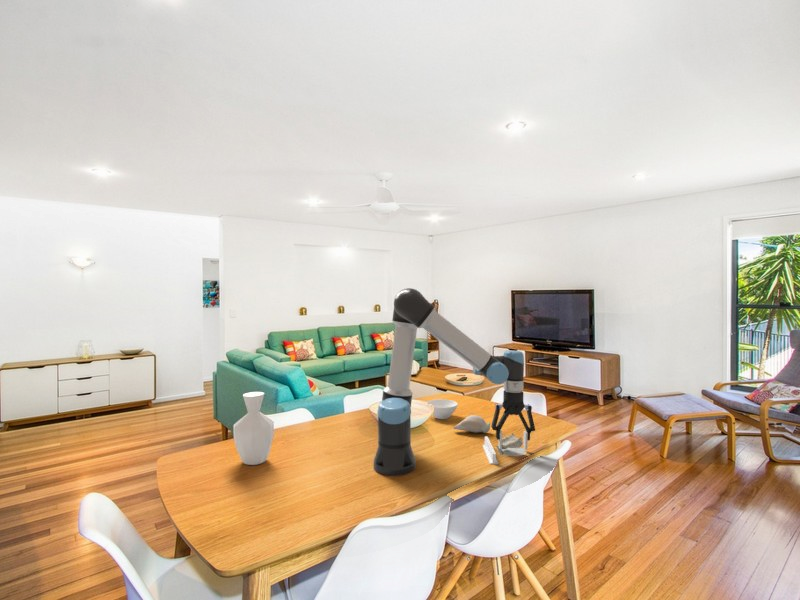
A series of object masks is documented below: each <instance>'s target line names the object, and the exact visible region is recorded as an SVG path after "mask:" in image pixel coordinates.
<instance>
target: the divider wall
mask: <svg viewBox="0 0 800 600" xmlns="http://www.w3.org/2000/svg"><path fill="white" fill-rule="evenodd" d="M482 448H483V450H484V453H485V455H486V458H487V460H488V463H489V465H499V461H498V458H497V453H496V450H495V449H494V447H493V445H492V443H491V440H490V439H489V437H488V436H484V444H482Z"/></svg>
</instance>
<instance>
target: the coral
mask: <svg viewBox="0 0 800 600" xmlns="http://www.w3.org/2000/svg"><path fill="white" fill-rule="evenodd" d="M523 445H524V438H523V436H521V437H519V438H518V437H516V435H515V433H513V432H512V433H510V434H509V436H507V435H505V436H504V437H502V449H503V450H504V449H507V448H508V447H510V448H514V447H520V446H522V447H523ZM520 448H521V447H520ZM502 449H501V450H502Z"/></svg>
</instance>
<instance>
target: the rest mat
mask: <svg viewBox="0 0 800 600" xmlns="http://www.w3.org/2000/svg"><path fill="white" fill-rule="evenodd" d="M496 448H497V451H498V452H499V454H500V456H503V455H504V457H521V456H523V455H525V454H527V450H525V448H524V447H523V445H522V446H520V447H514V448H510V447H508V448H507V449H504V450H503V449H502V450H501V449H500V448H499V446H498V445H496Z"/></svg>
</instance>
